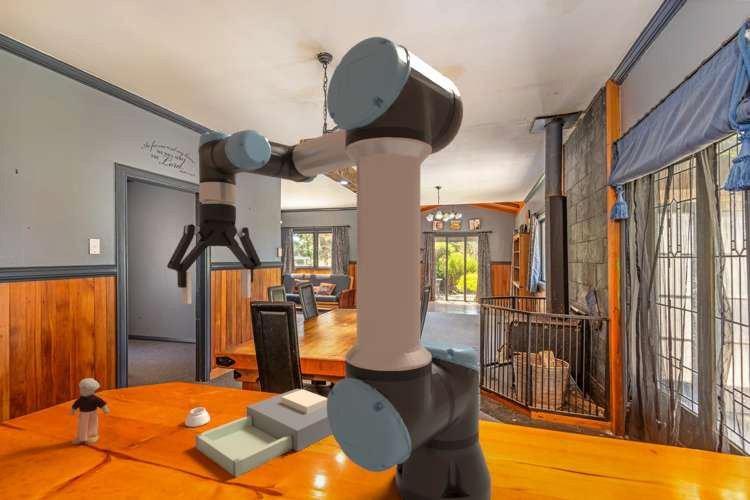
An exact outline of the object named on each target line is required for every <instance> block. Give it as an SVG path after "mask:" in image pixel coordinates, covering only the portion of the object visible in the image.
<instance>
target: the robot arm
mask: <svg viewBox="0 0 750 500" xmlns="http://www.w3.org/2000/svg"><path fill="white" fill-rule="evenodd" d="M326 107H327V111H328V115H329V117H330V118H331V119H332V121H333V122H334V124H336V125H337V127H338V128H340V129H338V130H335V131H332V132H330V133H326V134H323V135H321V136H318V137H315V138H312V139H309V140H306V141H302V142H300V143H297V144H294V145H293V144H292V145H287V144H282V143H279V142H274V141H271V140H268V139H267V138H266V136H265V135H263V134H262V133H261V132H260V131H258V130H255V129H244V130H241V131H237V132H234V133H232V134H229V133H228V132H227V133H226V132H223V131H205V132H203V133H202V134H201V135H200V136H199V144H198V150H197V151H198V167H199V168H198V170H199V171H198V173H199V174H198V175H199V177H198V178H199V180H198V181H199V182H198V183H199V185H198V188H199V193H198V195H199V199H198V201H199V202H200V203H201V204H200V205H199V207H198V212H199V214H198V216H199V217H198V220H199V225H195V224H193V223H192V224H191V223H190V224H185V225H184V226H183V232H182V233H183V234H182V236H181V238H180V241H179V242H178V243H177V246H176V248H175V249H174V252H173V254H172V256H171V258H170V259H169V261H168V262H167V265H166V266H167V268H168V269H169V270H172V271H176V274H177V275H176V276H177V288H180V289H181V304H185V305H191V304H192V272H191V271H188V270H189V269H190V268H191V266H192V265H193V264H194V263H195V262H196V261H197V259H199V257H200V256H201V255H202V253H203V252H204V251H205V250H206V249H207V248H209V247H226V248H228V249H229V250H230V252H231V253H232V254H233V255H234V256H235V258H236V259H237V260H238V261H239V262H240V264H241V265H242V266H243V269H241V271H240V272H241V273H240V274H241V298H251V297H252V296H251V295H252V291H251V290H252V289H251V287H252V285H251V283H254V270H256V269H257V267H261V265H262V262H261V260H260V257H259V254H258V253H257V250H256V249H255V246H254V244H253V242H252V239H251V238H250V232H249V230H250V229H249V227H239V228H237V227H236V221H237V207H236V206H235V204H236V203H237V189H236V188H237V186H236V185H237V181H236V180H237V179H236V178H237V177H236V175H239V174H242V173H247V174H253V175H259V176H265V177H271V178H275V179H276V178H277V179H281V180H288V181H292V182H295V183H312V182H313V181H314V180H315V179H316V178H317V177H318V175H323V174H327V173H330V172H335V171H340V170H343V169H349V168H353V167H356V342H355V343H354V345H352V346H351V348H350V349H348V350H347V352H345V355H344V356H345V357H344V358H345V362H344V363H345V364H344V366H345V368H344V372H345V373H344V378H343V379H339V380H338V381H337V382H336V384H333V387H332V388H331V389H330V391H329V392H328V395H327V398H328V399H327V417H328V422H329V425H330V429H331V431H332V434H331V435H332V436H333V438H334V440H335V442H336V443H337V445H339V448H340V450H341V451H342V452H343V453H344V455H345V456H346V457H347V458H348V459H349V460H350V462H352V463H354V464H355V465H356V466H358V467H359V468H361V469H363V470H364V471H368V472H373V473H382V472H386V471H388V470H390V469H392V468H394V467H395V466H396V467H395V487H396V490H397V492H398V494H399V496H400V498H402V499H403V500H491V497H492V479H491V472H490V470H489V468H488V467H489V466H488V464H487V462H486V458H485V454H484V451H483V448H482V446H481V443H480V413H479V412H480V410H479V409H480V406H479V405H480V402H479V400H480V397H479V395H480V392H479V391H480V386H479V385H480V383H479V382H480V378H479V377H480V376H479V375H480V374H479V373H480V372H481V371H480V368H479V361H478V359H479V358H478V353H477V351H476V350H475V349H474V348H473V347H471V346H469V345H466V344H462V343H459V342H454V341H446V340H437V339H436V340H435V339H421V165H422V163H423V162H424V161H426V159H427V158H428V157H429V156H430V155H433V154H436V153H439V152H440V151H442V150H444V149H445V148H446V147H448V146H449V145H450V144H451V143H452V142H453V141H454V140H455V138H456V136H457V134H458V133H459V131H460V129H461V126H462V122H463V118H464V106H463V100H462V97H461V93H460V92H459V90H458V89H457V87H456V86H455V84H454V83H453V81H451V80H450V79H449V78H448V77H446V76H444V75H443V74H441V73H440V72H438V71H437V70H435V69H433V67H431V66H429V65H428V64H427V63H425V62H424V61H422V60H421V59H419V58H418V57H417V56H415V55H414V54H412V53H411V52H410V51H409V50H408V49H407V47H405V46H404V45H401V44H397V43H395V42H394V41H393V40H390V39H388V38H386V37H382V36H374V37H373V36H372V37H368V38H365V39H363V40H361V41H359V42H357V43H355V45H353V46H351V48H350V49H349V50H348V51H346V53H345V54H344V55H343V57H342V58H341V60H340V62H339V63H338V64H337V65H336V68H335V69H334V70H333V73H332V76H331V78H330V81H329V84H328V89H327V95H326ZM197 234H199V236H200V237H201V238H200V239H199V240H198V241H197V242H196V245H194V247H193V248H192V249H191V250H190V252H189V253H187V251H188V249H189V247H190V245H191V243H192V241H193V239H194V236H196V235H197ZM236 235H237V237H239V241H240V244H241V246H242V247H243V249H244V250H243V249H242V248H241V246H240V244H239V242H238V241H237V239H236V238H235V237H236ZM186 253H187V254H186ZM185 255H186V256H185ZM184 257H185V258H184Z"/></svg>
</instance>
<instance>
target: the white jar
mask: <svg viewBox="0 0 750 500" xmlns="http://www.w3.org/2000/svg"><path fill="white" fill-rule="evenodd" d="M210 421H211V417H210V414H209V413H208V411H206V408H205V407H195V408H193V409H191V410H190V412H189V414H188V415H187V417H186V419H185V422H184V425H185V426H187V427H190V428H196V427H200V426H201V427H202V426H204V425H206V424H207V423H208V422H210Z"/></svg>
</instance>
